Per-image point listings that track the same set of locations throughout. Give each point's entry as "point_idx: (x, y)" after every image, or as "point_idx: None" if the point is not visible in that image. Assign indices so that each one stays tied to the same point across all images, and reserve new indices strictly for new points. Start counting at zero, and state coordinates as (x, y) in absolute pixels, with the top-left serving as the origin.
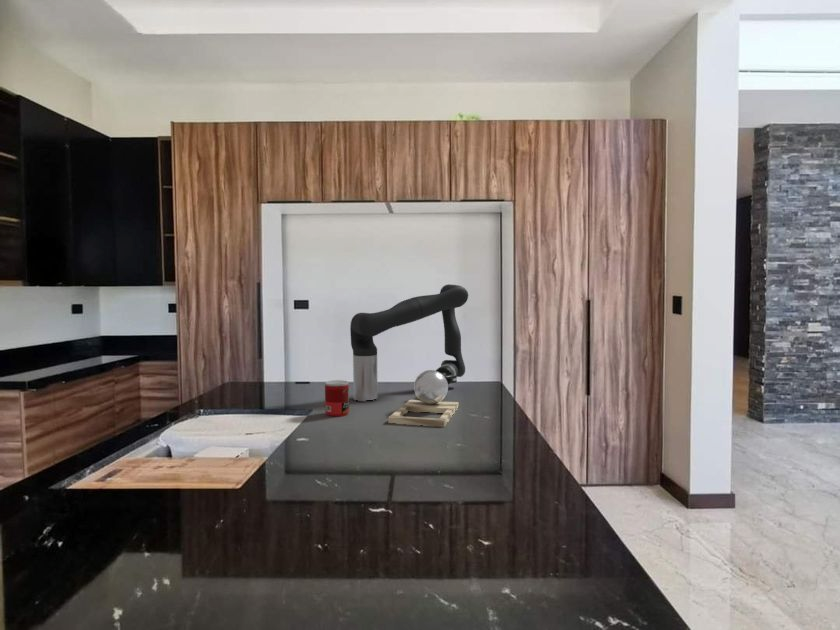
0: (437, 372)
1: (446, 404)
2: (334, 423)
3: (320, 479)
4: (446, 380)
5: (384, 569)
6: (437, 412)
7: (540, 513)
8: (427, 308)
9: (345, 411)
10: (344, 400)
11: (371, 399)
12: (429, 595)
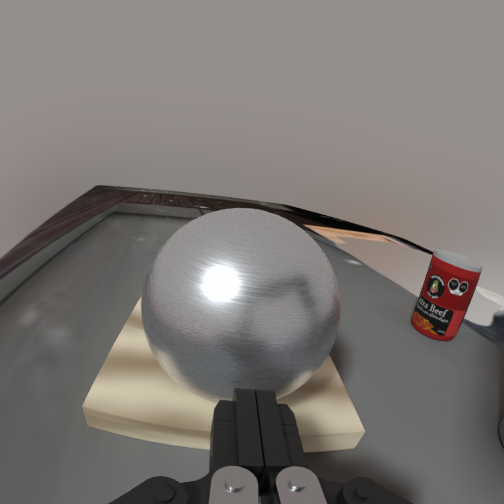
0: (212, 212)
1: (150, 373)
2: (380, 295)
3: None
4: (152, 261)
5: (188, 196)
6: None
7: (108, 198)
8: None
9: (413, 314)
10: (422, 288)
11: (502, 426)
12: (169, 192)
